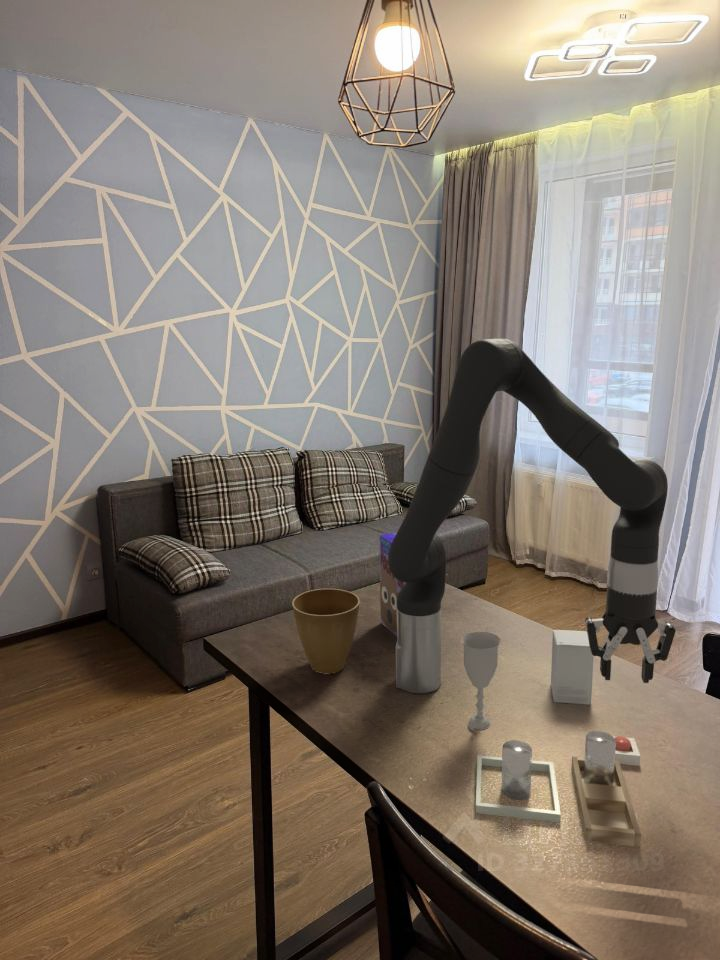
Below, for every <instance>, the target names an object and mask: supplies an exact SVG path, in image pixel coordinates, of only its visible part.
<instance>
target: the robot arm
mask: <svg viewBox="0 0 720 960" xmlns="http://www.w3.org/2000/svg"><path fill="white" fill-rule="evenodd" d="M497 392H504V393H506V394H508V395H509V396H511V397H513V398H514V399H515V400H517V401H519V402H520V403H522V405H524V406H525V407H526V408H527V409H528V410H529V411H530V413H532V414H533V416H534V417H535V419H536V420H537V421H538V423H539V424H540V425H541V427H542V429H543V430H544V433H546V435H547V436H548V437H549V439H550V440H551V441H552V442H553V443H554V444H555V446H557V447H558V448H559V449H560V450H561V451H562V452H564V453H565V454H566V455H567V456H568V457H569V458H571V460H573V461H574V462H575V463H577V464H578V465H579V466H580V467H581V468H583V469H584V470H585V471H586V472H587V474H588V475H589V477H590V478H591V480H592V481H593V482H594V483H595V485H596V486H597V487H598V488H599V490H601V492H602V493H603V494H604V495H605V496H606V497H607V498H608V499H609V500H610V501H611V502H612V503H614V504H615V505H617V506H618V507H620V510H619V515H618V518H617V519H616V522H615V523H614V525H613V527H612V530H611V538H610V539H611V540H610V541H611V542H610V557H609V562H608V567H607V575H606V582H607V584H606V600H605V601H606V602H605V611H604V614H603V615H602V617H601V618H600V617H599V618H592V617H591V616H587V617H585V619H584V622H585V627H586V631H587V634H588V640H589V646H590V649H591V653H592V655H593V657H599V658H600V664H599V665H600V666H599V670H600V674H601V677H604V680H605V681H611V676H612V675H611V673H612V672H611V671H612V660H611V659H612V656H613V654H614V653H615V651H617V649H618V648H619V646H620V645H626V644H632V645H635V646H641V649H642V652H643V654H644V656H643V657H642V660H641V661H642V662H641V676H640V677H641V680H642V683H643V684H649V683H650V681H652V680H653V678H654V668H655V667H654V666H655V663H656V662H658V661H660V660H661V661H663V662H664V661H666V660H668V656H669V654H670V650H671V647H672V644H673V642H674V639H675V635H676V628H675V626H674V625H673V623H672V622H671V621H669V620H668V621H664V622H662V621H658V620H657V618H656V614H657V613H656V612H657V611H656V610H657V598H658V597H657V596H658V585H659V564H658V563H659V562H658V558H659V546H660V545H659V543H660V536H659V535H660V528H661V525H662V521H663V517H664V513H665V508H666V503H667V497H668V491H669V490H668V477H667V474H666V471H665V470H664V469H663V467H661V466H660V465H659V464H658V463H657V462H655V461H652V460H649V459H648V460H647V459H639V460H636V461H633V460H632V459H631V458H630V457H628V456H627V454H625V453H624V451H622V450H621V448H619V447H620V443H619V440H618V439H617V437H616V436H615V435H614V434H612V433H611V432H610V431H609V430H608V429H607V428H605V427H604V426H603V425H602V424H601V423H600V422H598V421H597V420H595V419H594V418H593V417H592V416H591V415H589V414H588V413H587V412H585V411H584V410H583V409H582V408H581V407H579V406H578V405H577V404H575V402H573V400H571V399H570V398H569V397H568V396H567V395H566V394H565V393H563V392H562V391H561V389H559V388H558V387H557V386H556V385H555V384H554V382H552V381H551V380H550V379H549V378H548V377H547V376H546V375H545V373H543V372H542V370H541V369H539V367H538V366H537V365H536V363H534V362H533V361H532V359H531V358H530V357H529V356H528V355H527V353H526V352H525V351H524V350H523V349H522V348H521V347H520V346H519V345H518V344H517V343H516V342H514V341H513V340H510V339H508V338H499V337H498V338H486V339H479V340H476V341H473V342H472V343H471V344H469V345H468V346H467V347H466V348H465V349H464V351H463V353H462V354H461V357H460V359H459V362H458V364H457V367H456V372H455V376H454V379H453V383H452V387H451V392H450V394H449V399H448V403H447V405H446V409H445V411H444V415H443V417H442V420H441V422H440V424H439V427H438V430H437V433H436V436H435V439H434V442H433V443H432V446H431V448H430V451H429V453H428V456H427V459H426V461H425V463H424V467H423V469H422V473H421V475H420V478H419V482H418V484H417V487H416V489H415V491H414V494H413V496H412V499H411V502H410V504H409V507H408V510H407V512H406V514H405V516H404V519H403V520H402V522H401V524H400V527H399V528H398V530H397V531H396V533H397V534H396V536H395V538H394V540H393V542H392V544H391V546H390V549H389V553H388V564H389V568H390V571H391V573H392V575H393V576H394V577H395V578H396V579H397V580H399V581H402V582H406V583H405V585H404V586H403V588H402V589H401V590H400V591H399V593H398V595H397V601H396V602H397V636H396V644H395V688H396V689H402V690H404V691H406V692H408V693H412V694H413V693H414V694H428V693H432V692H435V691H437V690H438V689H439V688H440V687H441V684H442V600H443V598H444V596H445V592H446V590H445V589H446V576H447V574H446V573H447V553H446V549H445V545H444V543H443V540H442V539H441V537H440V536H439V535H438V534H437V532H438V530H439V528H440V527H441V526H442V524H443V523H444V522H445V520H446V519H447V518H448V517H449V516H450V515H451V514H452V512H453V511H454V509H455V508H456V507H457V506H458V505H459V503H460V502H461V501H462V500H463V498H464V496H465V494H466V493H467V491H468V489H469V488H470V485H471V483H472V480H473V478H474V475H475V472H476V470H477V468H478V465H479V463H480V462H479V460H480V453H481V452H480V449H481V446H480V445H481V444H480V443H481V442H480V441H481V440H480V437H481V436H480V434H481V433H480V432H481V426H482V423H483V420H484V417H485V415H486V413H487V410H488V408H489V406H490V404H491V402H492V400H493V398H494V396H495V395H496V393H497ZM602 626H604V628H605V629H606V630H607V632H608V633H607V635H606V637H605V639H604V640H605V641H604V642H603V644H602V646H600V645H599V644H598V637H597V634H598V633H600V631H601V627H602ZM656 630H658V631H657V632H658V633H659V639H658V642H657V645H656V648H655V649H652V647H651V645H650V642H649V637H650V636H652V634H653V633H654V632H655V631H656Z"/></svg>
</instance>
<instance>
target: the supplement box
mask: <svg viewBox="0 0 720 960" xmlns="http://www.w3.org/2000/svg"><path fill="white" fill-rule="evenodd" d="M551 639H552V640H551V641H552V644H551V645H552V646H551V669H550V670H551V672H550V688H551V693H552V694H551V695H552V699H553V702H554V703H561V704H563V703H564V704H574V705H575V704H576V705H590V706H591V705H592V693H593V691H592V690H593V671H594V656H593V655H592V653H591V649H590V646H589V640H588V634H587V630H572V629H571V630H568V629H553V630H552V638H551Z"/></svg>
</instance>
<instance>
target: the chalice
mask: <svg viewBox="0 0 720 960" xmlns="http://www.w3.org/2000/svg"><path fill="white" fill-rule="evenodd" d="M460 641H461V643H462V645H463V666H464V669H465V672H466V675H467V676H468V679H469V681H470V682H471V684H472V686H473V687H475V688H477V692H476V694H475V698H476V699H477V702H476V703H475V707H476V709H477V712H476V713H474V714H473V715H471V717H470V718H469V721H468V723H467V727H468V729H469V730H471V731H472V732H475V729H476V730H487V729H488V728H490V727H491V725H492V723H491V720H490V718H489V717H488V716H487V715H486V714H484V708H485V706H486V705H485V703H484V698H485V694H484V691H483V690H484V689H485V688H487V687H488V686H489V684H490V682H491V681H492V679H493V677H494V675H495V673H496V670H497V667H498V663H499V662H498V660H499V659H498V658H499V654H498V653H499V651H498V650H499V646H500V644H501V642H502V640H501V638H500V637H499V636H498V635H497V634H494V633H491V632H486V631H473V632H469V633H466V634H464V635H463V636H462V637H461V639H460Z"/></svg>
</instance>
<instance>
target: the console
mask: <svg viewBox="0 0 720 960" xmlns="http://www.w3.org/2000/svg"><path fill="white" fill-rule="evenodd" d="M612 736H613V737H614V738H615V737H616V736H614V735H612ZM624 737H625V736H624ZM625 738H627V739H628V740H629V741H630V752H627V751H616V750H615V760H616V761H619V763H620V765H628V766H639V767H640V766H641V753H640V750H639V747H638V744H637V743H636V739H635V737H625Z"/></svg>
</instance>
